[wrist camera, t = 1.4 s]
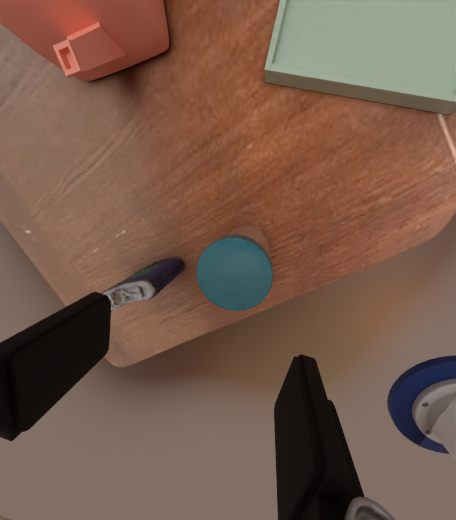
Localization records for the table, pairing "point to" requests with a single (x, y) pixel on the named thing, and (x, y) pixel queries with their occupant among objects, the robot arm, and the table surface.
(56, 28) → the teapot
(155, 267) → the flask
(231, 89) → the table surface
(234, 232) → the jar
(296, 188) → the table surface
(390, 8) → the tray
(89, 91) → the table surface
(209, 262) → the lid
